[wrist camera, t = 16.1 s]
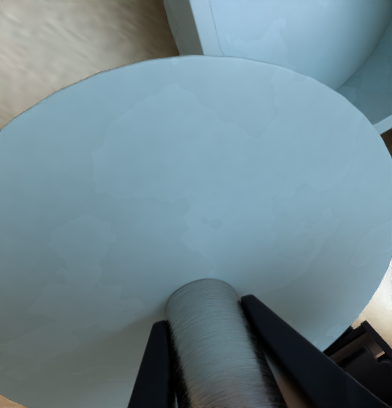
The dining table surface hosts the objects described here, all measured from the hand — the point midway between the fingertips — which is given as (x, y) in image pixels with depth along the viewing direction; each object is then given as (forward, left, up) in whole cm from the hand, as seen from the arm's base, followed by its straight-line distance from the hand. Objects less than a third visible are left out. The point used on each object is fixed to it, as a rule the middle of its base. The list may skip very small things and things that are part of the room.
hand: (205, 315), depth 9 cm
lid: (0, 0, -1) cm, 1 cm away
